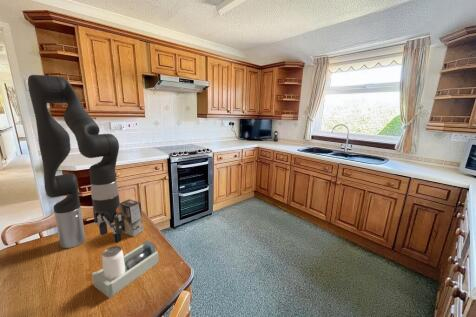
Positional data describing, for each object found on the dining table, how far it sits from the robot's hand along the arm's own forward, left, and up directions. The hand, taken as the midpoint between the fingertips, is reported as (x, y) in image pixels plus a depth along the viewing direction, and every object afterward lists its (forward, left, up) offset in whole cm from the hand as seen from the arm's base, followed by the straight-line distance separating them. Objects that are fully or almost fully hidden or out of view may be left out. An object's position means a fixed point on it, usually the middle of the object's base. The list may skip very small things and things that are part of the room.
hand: (110, 237), depth 71 cm
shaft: (0, +10, -17) cm, 20 cm away
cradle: (0, +5, -18) cm, 19 cm away
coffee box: (-25, +23, -18) cm, 38 cm away
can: (0, 0, -17) cm, 17 cm away
